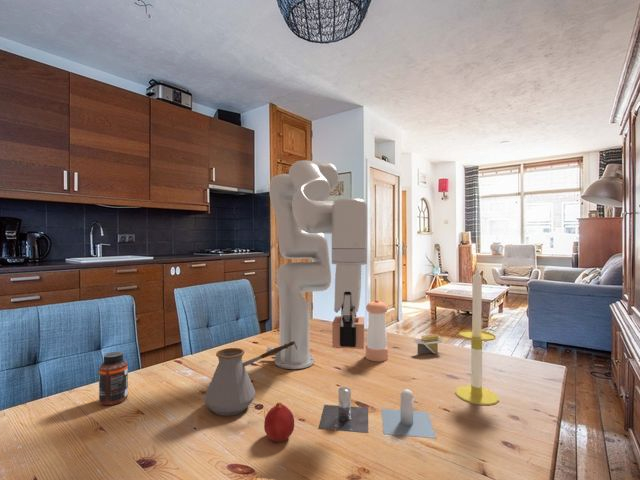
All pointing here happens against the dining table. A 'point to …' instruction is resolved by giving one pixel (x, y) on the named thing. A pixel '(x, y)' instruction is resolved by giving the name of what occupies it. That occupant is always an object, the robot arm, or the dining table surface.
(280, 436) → the onion
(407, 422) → the blue peg base
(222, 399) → the coffee pot
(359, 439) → the dining table surface
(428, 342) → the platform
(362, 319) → the collar
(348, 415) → the stand
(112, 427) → the dining table surface
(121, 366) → the supplement bottle
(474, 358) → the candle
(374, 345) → the salt shaker
